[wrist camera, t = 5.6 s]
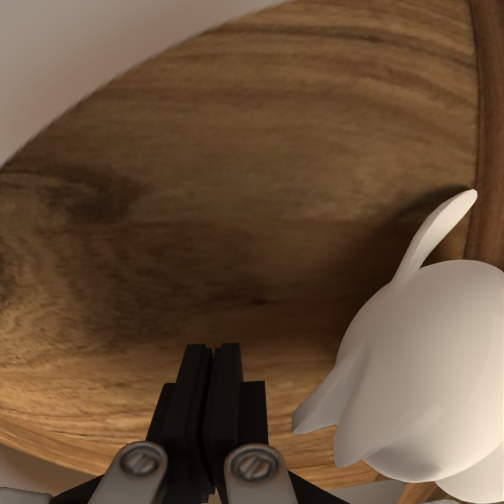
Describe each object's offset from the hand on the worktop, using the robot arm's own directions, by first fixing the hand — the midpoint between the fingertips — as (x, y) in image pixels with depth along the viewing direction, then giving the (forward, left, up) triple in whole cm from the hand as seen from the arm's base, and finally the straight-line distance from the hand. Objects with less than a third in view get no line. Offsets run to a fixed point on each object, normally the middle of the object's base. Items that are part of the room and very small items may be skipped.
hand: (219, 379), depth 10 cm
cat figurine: (+5, +8, -2) cm, 9 cm away
